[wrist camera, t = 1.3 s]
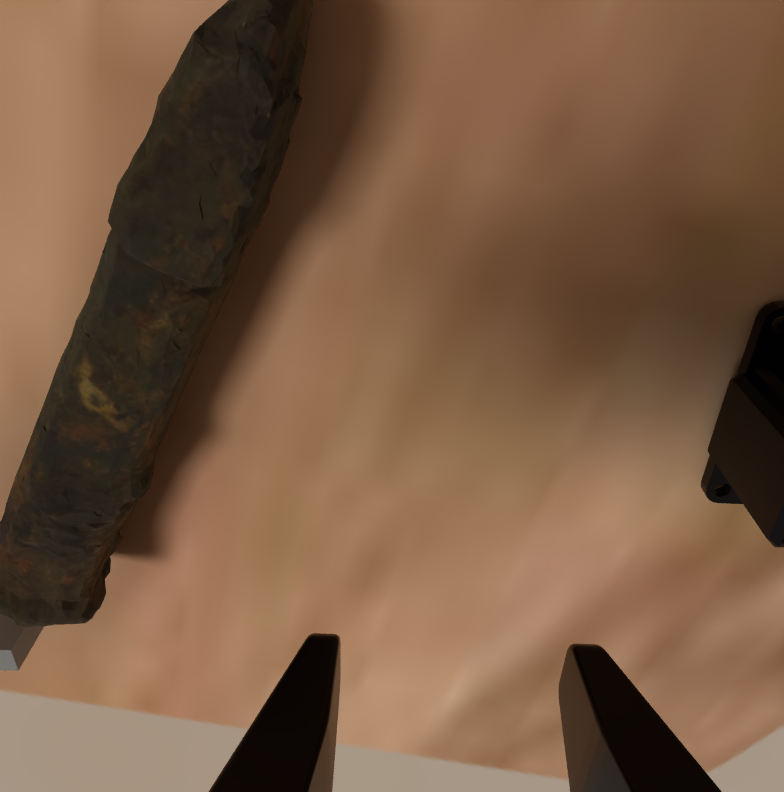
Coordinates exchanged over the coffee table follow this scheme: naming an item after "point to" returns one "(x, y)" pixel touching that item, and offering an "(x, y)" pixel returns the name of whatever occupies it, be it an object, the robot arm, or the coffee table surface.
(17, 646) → the plate
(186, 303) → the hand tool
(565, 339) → the coffee table surface
